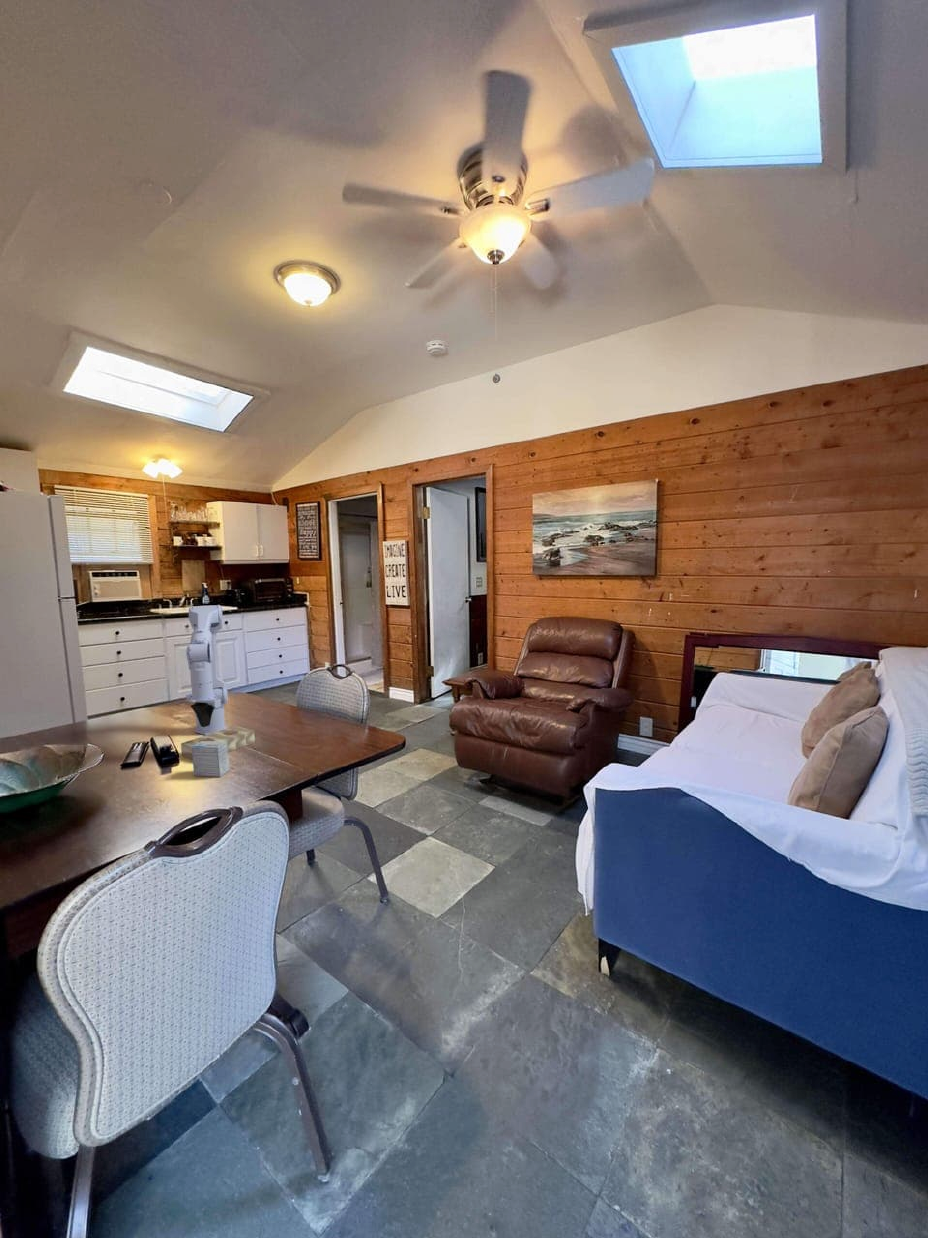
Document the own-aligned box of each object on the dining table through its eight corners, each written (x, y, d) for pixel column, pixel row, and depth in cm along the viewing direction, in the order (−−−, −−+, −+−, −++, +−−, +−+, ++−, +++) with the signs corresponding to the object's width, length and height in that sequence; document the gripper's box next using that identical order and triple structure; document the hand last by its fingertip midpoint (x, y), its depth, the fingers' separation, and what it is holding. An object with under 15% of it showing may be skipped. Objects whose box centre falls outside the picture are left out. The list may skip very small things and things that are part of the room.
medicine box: (230, 770, 135) (227, 741, 134) (220, 777, 130) (218, 747, 129) (203, 769, 135) (201, 740, 134) (193, 776, 131) (191, 746, 130)
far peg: (229, 746, 152) (228, 734, 152) (224, 744, 154) (223, 732, 153) (238, 743, 155) (237, 731, 154) (232, 741, 156) (231, 729, 156)
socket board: (201, 762, 140) (200, 749, 140) (181, 756, 145) (180, 743, 145) (254, 742, 156) (254, 730, 155) (235, 737, 161) (234, 725, 160)
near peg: (205, 755, 145) (204, 742, 145) (199, 753, 147) (198, 740, 146) (214, 751, 148) (214, 739, 147) (209, 750, 149) (208, 737, 149)
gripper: (175, 682, 145) (178, 726, 146) (203, 688, 138) (206, 734, 139) (197, 677, 151) (201, 719, 152) (226, 683, 144) (229, 726, 145)
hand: (205, 726), depth 146 cm, fingers closed
